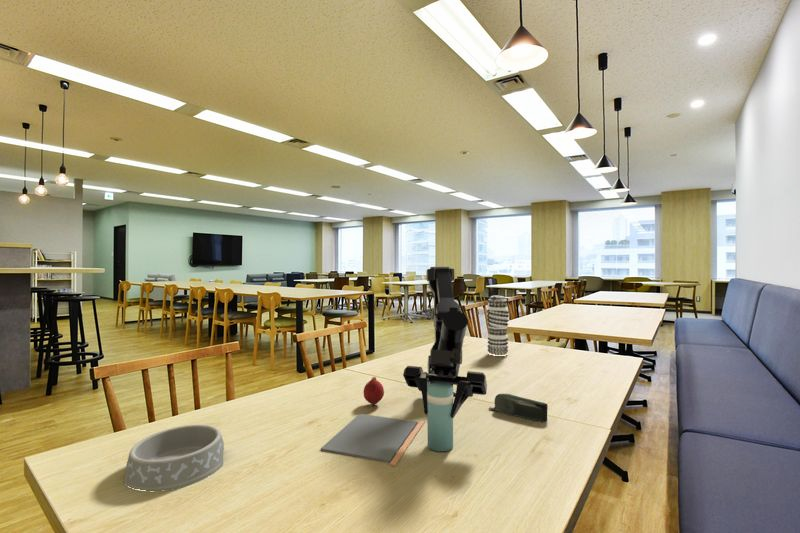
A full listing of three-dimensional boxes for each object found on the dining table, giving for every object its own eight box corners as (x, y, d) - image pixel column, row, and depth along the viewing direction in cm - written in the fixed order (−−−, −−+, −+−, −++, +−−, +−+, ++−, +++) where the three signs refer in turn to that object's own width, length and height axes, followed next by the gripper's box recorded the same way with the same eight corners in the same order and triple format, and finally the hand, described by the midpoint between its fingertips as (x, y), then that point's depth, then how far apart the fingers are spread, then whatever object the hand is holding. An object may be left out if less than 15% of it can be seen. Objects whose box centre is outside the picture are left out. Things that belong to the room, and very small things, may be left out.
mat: (417, 423, 99) (417, 421, 99) (389, 462, 81) (389, 460, 81) (359, 415, 105) (359, 413, 105) (320, 450, 86) (320, 448, 86)
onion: (381, 409, 108) (380, 380, 108) (361, 408, 110) (360, 379, 109) (386, 402, 114) (385, 374, 114) (366, 400, 115) (366, 373, 115)
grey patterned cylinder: (487, 356, 165) (487, 297, 165) (486, 351, 174) (486, 294, 174) (509, 357, 164) (510, 297, 163) (507, 352, 173) (507, 295, 172)
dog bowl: (115, 503, 68) (114, 472, 68) (137, 454, 85) (137, 430, 85) (223, 480, 75) (223, 452, 75) (224, 439, 92) (224, 416, 92)
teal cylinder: (445, 437, 91) (444, 381, 91) (458, 448, 86) (458, 389, 85) (422, 441, 89) (422, 384, 88) (435, 453, 84) (434, 392, 83)
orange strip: (420, 421, 100) (420, 420, 100) (424, 422, 100) (424, 421, 100) (389, 465, 79) (389, 463, 79) (395, 466, 79) (395, 464, 79)
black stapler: (548, 401, 102) (492, 389, 110) (545, 405, 99) (488, 392, 107) (547, 420, 102) (491, 407, 110) (545, 424, 99) (487, 410, 107)
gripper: (405, 332, 93) (389, 393, 83) (485, 337, 87) (478, 404, 77) (415, 356, 101) (401, 416, 91) (489, 363, 95) (483, 427, 85)
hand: (438, 415), depth 86 cm, fingers closed on teal cylinder, 6 cm apart
